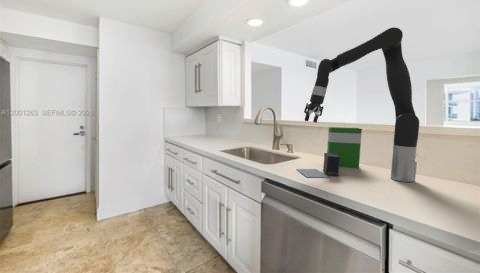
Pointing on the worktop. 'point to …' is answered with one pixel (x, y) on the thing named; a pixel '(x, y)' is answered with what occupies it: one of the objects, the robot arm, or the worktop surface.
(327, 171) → the small box
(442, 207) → the worktop surface
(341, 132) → the green cereal box
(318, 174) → the mat
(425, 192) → the worktop surface
